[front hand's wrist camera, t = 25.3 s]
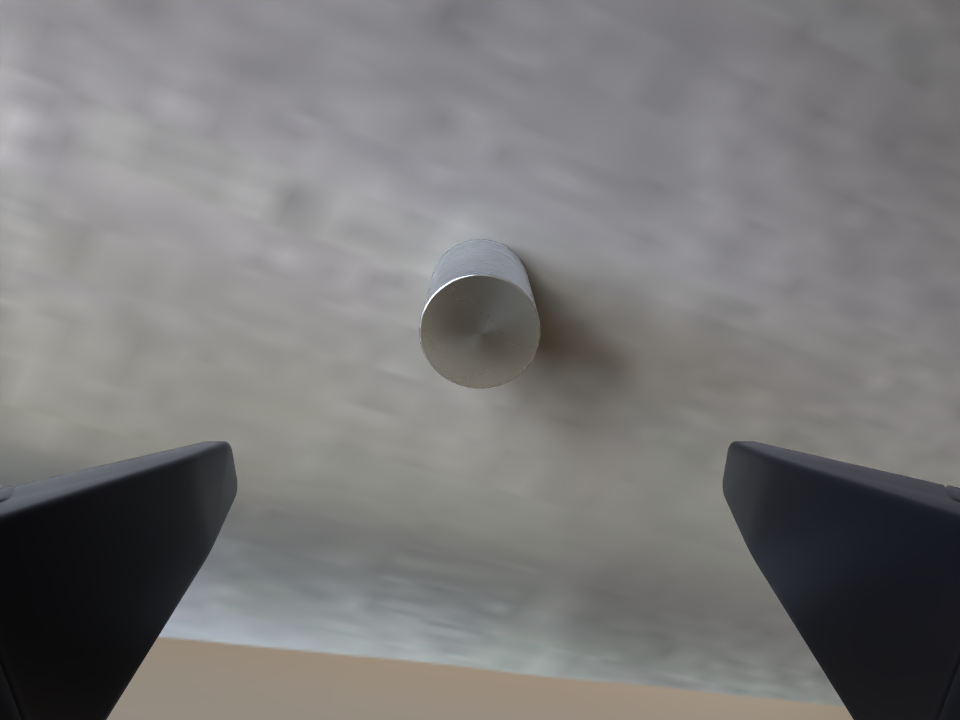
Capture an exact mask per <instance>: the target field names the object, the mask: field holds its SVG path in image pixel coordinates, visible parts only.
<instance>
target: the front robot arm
mask: <svg viewBox="0 0 960 720" xmlns="http://www.w3.org/2000/svg"><path fill="white" fill-rule="evenodd" d="M236 492H237V478H236V472H235V466H234V460H233V454H232V449H231V446H230V445H229V443H227V442H225V441H213V442H202V443H197V444H193V445H189V446H184V447H180V448H176V449H171V450H167V451H163V452H158V453H154V454H150V455H145V456H141V457H137V458H132V459H128V460H124V461H119V462H115V463H111V464H106V465H102V466H97V467H93V468H89V469H84V470H80V471H76V472H71V473H67V474H63V475H58V476H54V477H50V478H45V479H41V480H37V481H32V482H28V483H24V484H19V485H16V486H15V488H14V487H13V486H7V487H3V488H0V720H106V719H107V718H108V716H109V714H110V713H111V711H112V710H113V708H114V706H115V705H116V703H117V702H118V700H119V698H120V697H121V695H122V694H123V692H124V690H125V689H126V687H127V685H128V684H129V682H130V681H131V679H132V677H133V676H134V674H135V673H136V671H137V669H138V668H139V666H140V664H141V663H142V661H143V660H144V658H145V657H146V655H147V653H148V652H149V650H150V649H151V647H152V645H153V644H154V642H155V640H156V639H157V637H158V636H159V634H160V632H161V631H162V629H163V628H164V626H165V624H166V623H167V621H168V620H169V618H170V616H171V615H172V613H173V612H174V610H175V608H176V607H177V605H178V604H179V602H180V600H181V599H182V597H183V595H184V594H185V592H186V591H187V589H188V587H189V586H190V584H191V583H192V581H193V579H194V578H195V576H196V575H197V573H198V571H199V570H200V568H201V567H202V565H203V563H204V562H205V560H206V558H207V556H208V555H209V553H210V551H211V549H212V547H213V545H214V543H215V541H216V538H217V536H218V534H219V532H220V530H221V527H222V525H223V523H224V521H225V518H226V516H227V514H228V512H229V510H230V507H231V505H232V503H233V501H234V499H235V496H236ZM723 492H724V496H725V499H726V501H727V503H728V505H729V507H730V510H731V512H732V514H733V516H734V518H735V521H736V523H737V525H738V527H739V530H740V532H741V534H742V536H743V538H744V541H745V543H746V545H747V547H748V549H749V551H750V553H751V555H752V556H753V558H754V560H755V562H756V563H757V565H758V567H759V568H760V570H761V571H762V573H763V575H764V576H765V578H766V579H767V581H768V583H769V584H770V586H771V587H772V589H773V591H774V592H775V594H776V595H777V597H778V599H779V600H780V602H781V603H782V605H783V607H784V608H785V610H786V611H787V613H788V615H789V616H790V618H791V620H792V621H793V623H794V624H795V626H796V628H797V629H798V631H799V632H800V634H801V636H802V637H803V639H804V640H805V642H806V644H807V645H808V647H809V648H810V650H811V652H812V653H813V655H814V656H815V658H816V660H817V661H818V663H819V665H820V666H821V668H822V669H823V671H824V673H825V674H826V676H827V677H828V679H829V681H830V682H831V684H832V685H833V687H834V689H835V690H836V692H837V693H838V695H839V697H840V698H841V700H842V701H843V703H844V705H845V706H846V708H847V710H848V711H849V713H850V714H851V716H852V718H853V719H854V720H960V488H957V487H953V486H947V487H946V488H945V486H944V485H941V484H937V483H932V482H928V481H923V480H919V479H915V478H910V477H906V476H902V475H897V474H893V473H889V472H884V471H880V470H876V469H871V468H867V467H863V466H858V465H854V464H850V463H845V462H841V461H837V460H832V459H828V458H824V457H819V456H815V455H810V454H806V453H802V452H797V451H793V450H789V449H784V448H780V447H776V446H771V445H767V444H763V443H758V442H747V441H735V442H733V443H731V445H730V446H729V449H728V454H727V460H726V466H725V472H724V478H723Z"/></svg>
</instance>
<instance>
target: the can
mask: <svg viewBox="0 0 960 720" xmlns="http://www.w3.org/2000/svg"><path fill="white" fill-rule="evenodd" d="M540 335H541V327H540V320H539V315H538V312H537V308H536V304H535V301H534V297H533V293H532V290H531V286H530V283H529V279H528V275H527V272H526V270H525V267H524V265H523V264H522V262H521V260H520V259H519V258H518V257H517V255H516V254H515V253H514V252H512V251H511V250H510V249H509V248H507V247H505V246H504V245H502V244H499V243H497V242H494V241H490V240H470V241H466V242H463V243H461V244H458V245H456V246H455V247H453V248H451V249H450V250H449V251H447V252H446V253H445V254H444V255H443V257H442V258H441V259H440V260H439V262H438V264H437V265H436V267H435V270H434V272H433V276H432V279H431V283H430V286H429V290H428V294H427V297H426V301H425V304H424V308H423V312H422V315H421V319H420V325H419V337H420V343H421V346H422V350H423V352H424V354H425V356H426V358H427V360H428V361H429V363H430V364H431V365H432V367H433V368H434V369H435V370H436V371H437V372H438V373H439V374H440V375H442V376H443V377H445V378H446V379H448V380H450V381H451V382H453V383H456V384H458V385H461V386H465V387H470V388H490V387H495V386H499V385H501V384H504V383H506V382H508V381H510V380H512V379H514V378H515V377H517V376H518V375H519V374H521V373H522V372H523V371H524V370H525V369H526V368H527V367H528V365H529V364H530V363H531V361H532V360H533V358H534V356H535V354H536V352H537V349H538V346H539V342H540Z"/></svg>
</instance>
